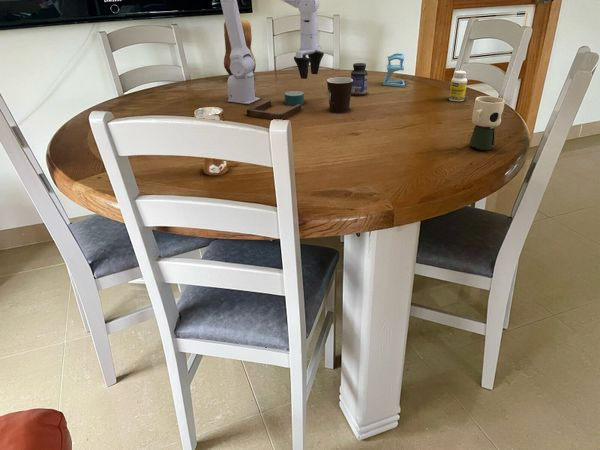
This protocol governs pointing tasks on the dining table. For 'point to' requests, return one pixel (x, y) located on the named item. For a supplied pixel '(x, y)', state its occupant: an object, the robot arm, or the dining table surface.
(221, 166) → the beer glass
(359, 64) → the pill bottle
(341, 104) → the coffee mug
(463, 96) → the supplement bottle
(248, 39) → the butternut squash
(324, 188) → the dining table surface
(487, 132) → the character mug
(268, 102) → the walnut bay
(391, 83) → the chair
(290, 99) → the teal puck
